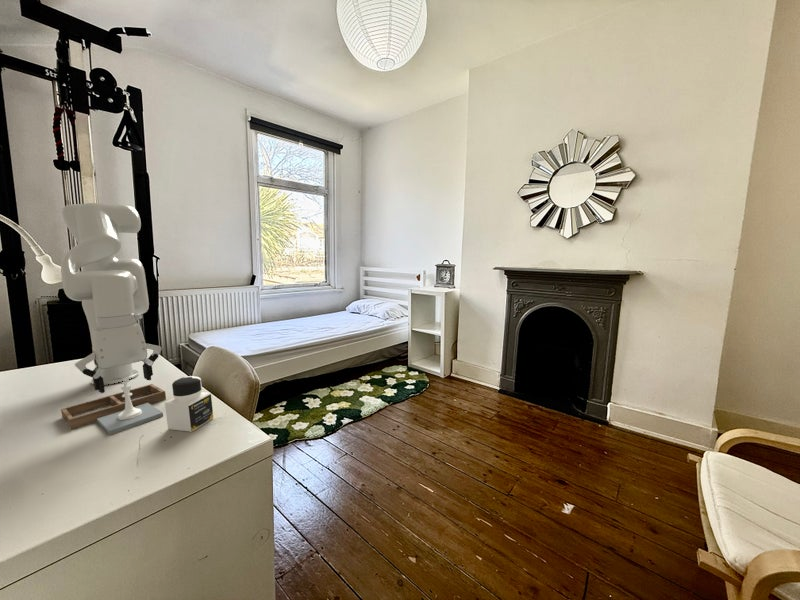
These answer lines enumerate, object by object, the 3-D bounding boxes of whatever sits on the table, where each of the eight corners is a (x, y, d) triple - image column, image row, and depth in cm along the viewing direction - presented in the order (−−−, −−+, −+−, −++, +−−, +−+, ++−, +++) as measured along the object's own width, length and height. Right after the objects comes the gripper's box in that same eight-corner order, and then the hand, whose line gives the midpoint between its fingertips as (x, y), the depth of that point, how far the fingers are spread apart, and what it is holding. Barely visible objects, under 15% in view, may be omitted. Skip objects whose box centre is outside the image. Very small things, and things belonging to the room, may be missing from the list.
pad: (97, 422, 84) (96, 418, 84) (148, 405, 93) (147, 402, 93) (109, 434, 78) (109, 431, 78) (163, 416, 87) (162, 412, 87)
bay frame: (62, 417, 87) (60, 409, 87) (152, 391, 103) (151, 383, 103) (71, 429, 81) (69, 420, 81) (166, 399, 97) (165, 391, 97)
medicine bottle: (191, 432, 78) (186, 385, 77) (167, 429, 80) (161, 383, 78) (214, 418, 85) (209, 374, 84) (191, 415, 87) (186, 373, 85)
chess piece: (112, 419, 83) (107, 382, 82) (130, 410, 88) (125, 375, 87) (129, 420, 83) (123, 383, 81) (146, 411, 88) (141, 375, 86)
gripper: (151, 314, 91) (158, 371, 94) (65, 326, 77) (76, 393, 80) (162, 317, 87) (169, 377, 90) (72, 330, 73) (84, 401, 76)
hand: (125, 385), depth 85 cm, fingers open, 9 cm apart
